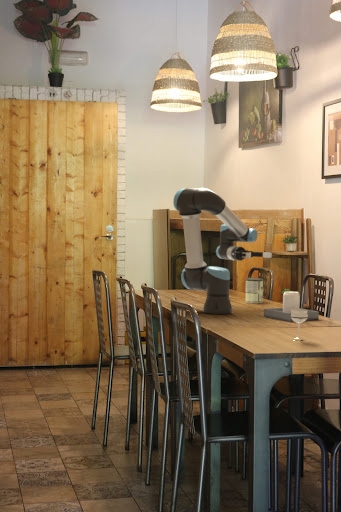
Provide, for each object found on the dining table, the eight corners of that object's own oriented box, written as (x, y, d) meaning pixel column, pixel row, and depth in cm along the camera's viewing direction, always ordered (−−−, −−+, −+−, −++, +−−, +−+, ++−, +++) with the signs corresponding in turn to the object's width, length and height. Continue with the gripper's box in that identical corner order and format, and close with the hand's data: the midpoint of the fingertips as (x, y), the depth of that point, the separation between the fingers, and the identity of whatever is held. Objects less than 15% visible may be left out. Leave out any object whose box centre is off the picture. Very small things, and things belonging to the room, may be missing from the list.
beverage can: (299, 317, 349) (299, 293, 349) (282, 316, 351) (283, 292, 350) (299, 315, 357) (299, 291, 357) (282, 314, 359) (283, 291, 358)
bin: (288, 321, 341) (288, 313, 341) (263, 316, 357) (263, 308, 357) (318, 319, 351) (318, 311, 350) (292, 314, 367) (293, 307, 367)
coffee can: (245, 301, 428) (245, 277, 427) (262, 301, 427) (263, 278, 426) (245, 303, 418) (245, 279, 417) (262, 303, 417) (263, 279, 416)
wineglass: (304, 338, 291) (305, 309, 290) (308, 341, 284) (309, 311, 284) (288, 338, 291) (289, 309, 290) (291, 341, 284) (292, 311, 283)
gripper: (254, 260, 396) (279, 262, 378) (217, 260, 383) (241, 262, 365) (255, 246, 395) (279, 248, 377) (218, 246, 383) (241, 248, 364)
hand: (260, 255), depth 371 cm, fingers open, 13 cm apart
